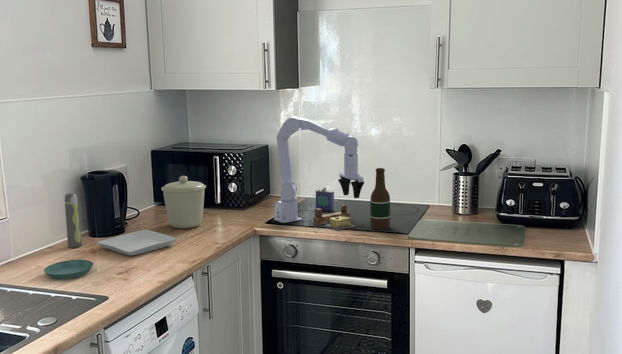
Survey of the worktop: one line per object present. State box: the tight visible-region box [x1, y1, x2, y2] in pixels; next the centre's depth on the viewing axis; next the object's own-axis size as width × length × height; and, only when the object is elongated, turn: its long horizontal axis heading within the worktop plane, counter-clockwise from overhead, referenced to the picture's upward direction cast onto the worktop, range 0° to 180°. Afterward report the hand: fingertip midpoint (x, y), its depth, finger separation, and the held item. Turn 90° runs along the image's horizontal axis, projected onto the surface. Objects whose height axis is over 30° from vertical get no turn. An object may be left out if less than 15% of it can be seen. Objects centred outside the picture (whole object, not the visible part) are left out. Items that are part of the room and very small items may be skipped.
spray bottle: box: [64, 193, 83, 249], centre depth 224 cm, size 5×5×20 cm
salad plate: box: [96, 229, 178, 257], centre depth 222 cm, size 21×21×3 cm
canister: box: [161, 175, 207, 230], centre depth 251 cm, size 18×18×21 cm
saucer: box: [43, 259, 94, 281], centre depth 194 cm, size 15×15×3 cm
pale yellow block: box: [329, 216, 352, 228], centre depth 247 cm, size 7×5×4 cm
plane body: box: [312, 204, 351, 226], centre depth 255 cm, size 16×4×6 cm, turn 122°
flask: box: [315, 187, 335, 212], centre depth 275 cm, size 9×3×11 cm, turn 61°
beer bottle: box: [369, 167, 391, 231], centre depth 242 cm, size 8×8×24 cm
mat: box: [324, 223, 356, 231], centre depth 247 cm, size 9×9×1 cm
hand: (351, 196), depth 256 cm, fingers open, 7 cm apart
